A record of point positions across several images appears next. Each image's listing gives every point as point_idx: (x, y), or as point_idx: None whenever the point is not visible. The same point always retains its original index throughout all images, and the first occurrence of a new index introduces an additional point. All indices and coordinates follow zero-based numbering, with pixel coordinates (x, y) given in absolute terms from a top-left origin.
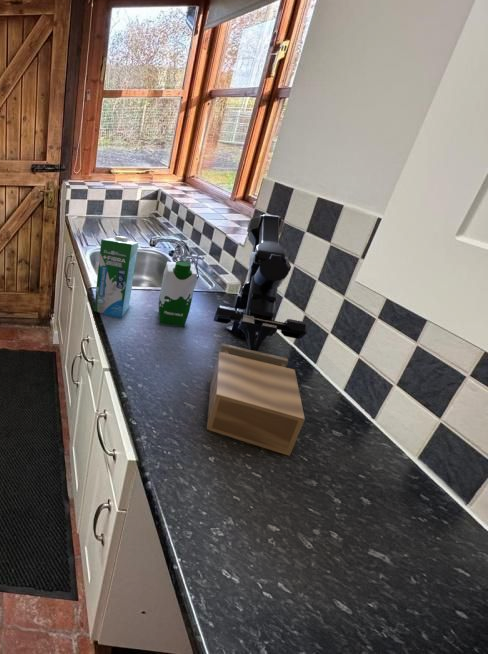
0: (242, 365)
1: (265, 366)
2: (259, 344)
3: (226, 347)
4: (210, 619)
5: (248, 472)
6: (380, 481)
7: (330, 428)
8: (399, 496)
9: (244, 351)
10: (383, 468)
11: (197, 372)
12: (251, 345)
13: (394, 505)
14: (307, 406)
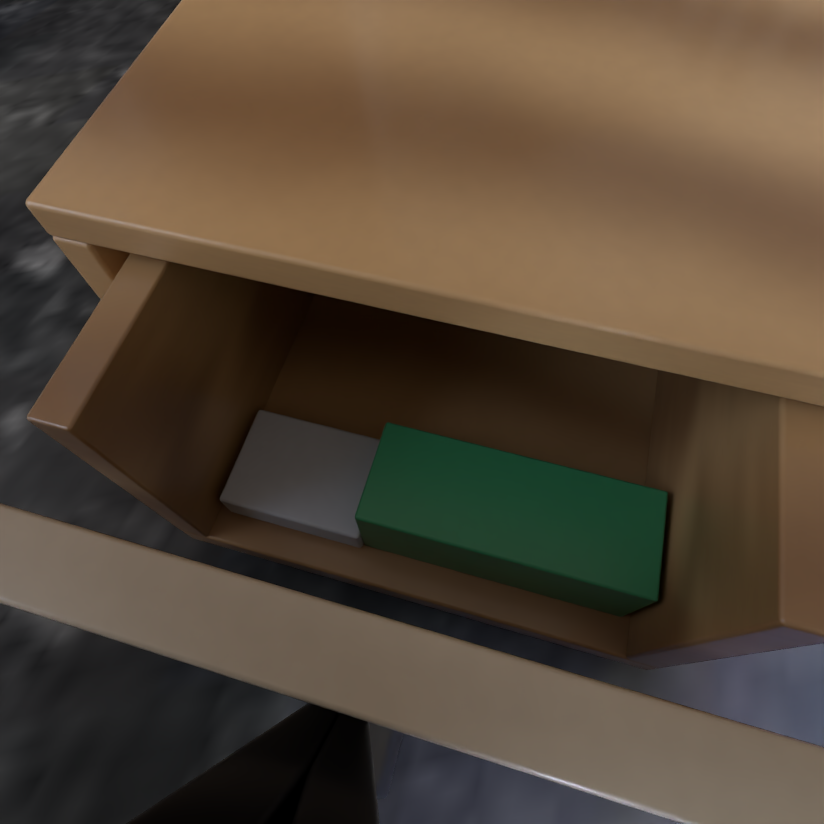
0: (657, 160)
1: (371, 190)
2: (186, 811)
3: (822, 749)
4: None
5: None
6: (76, 66)
7: (49, 284)
8: (62, 29)
9: (509, 657)
10: (4, 115)
11: (813, 739)
12: (356, 818)
13: (113, 2)
14: (45, 446)
